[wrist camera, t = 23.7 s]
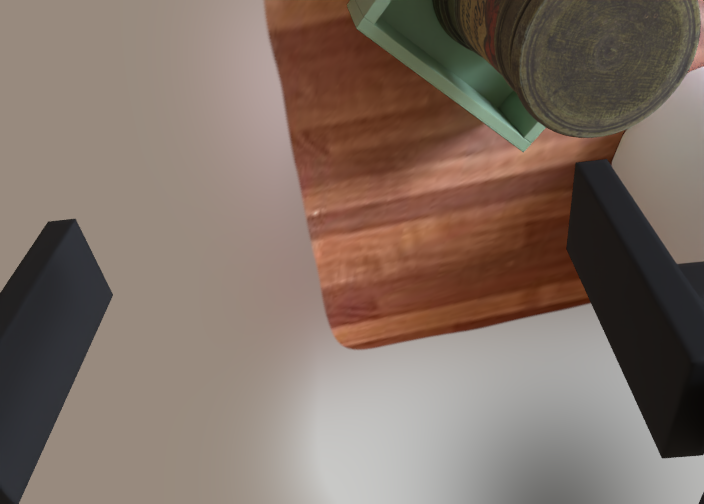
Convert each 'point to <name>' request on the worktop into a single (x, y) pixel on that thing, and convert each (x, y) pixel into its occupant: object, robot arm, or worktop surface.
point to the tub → (446, 64)
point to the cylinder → (670, 169)
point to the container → (581, 55)
